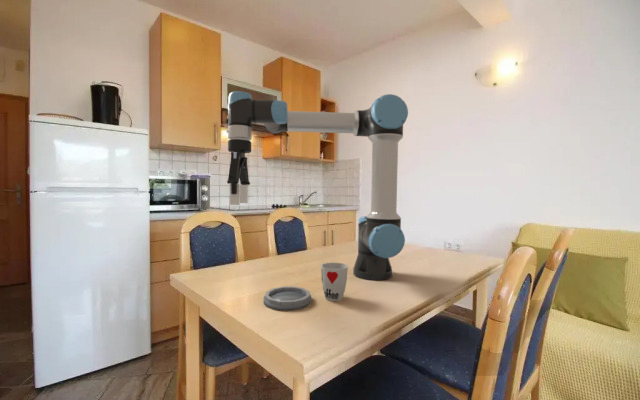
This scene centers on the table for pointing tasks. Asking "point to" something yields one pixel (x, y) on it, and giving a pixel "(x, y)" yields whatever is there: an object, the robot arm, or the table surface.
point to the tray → (287, 298)
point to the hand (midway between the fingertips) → (239, 203)
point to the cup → (334, 280)
